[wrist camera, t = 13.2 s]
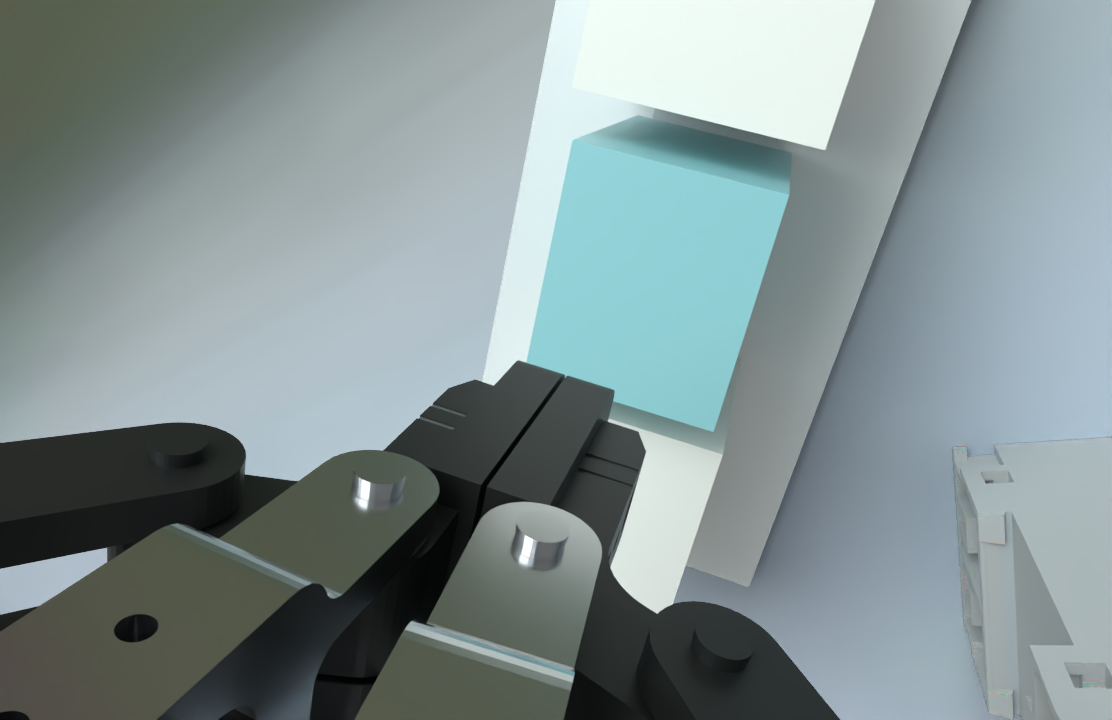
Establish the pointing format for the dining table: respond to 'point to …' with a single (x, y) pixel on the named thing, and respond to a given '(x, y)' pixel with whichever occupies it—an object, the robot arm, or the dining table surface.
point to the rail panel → (799, 248)
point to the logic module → (658, 263)
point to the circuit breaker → (1038, 576)
